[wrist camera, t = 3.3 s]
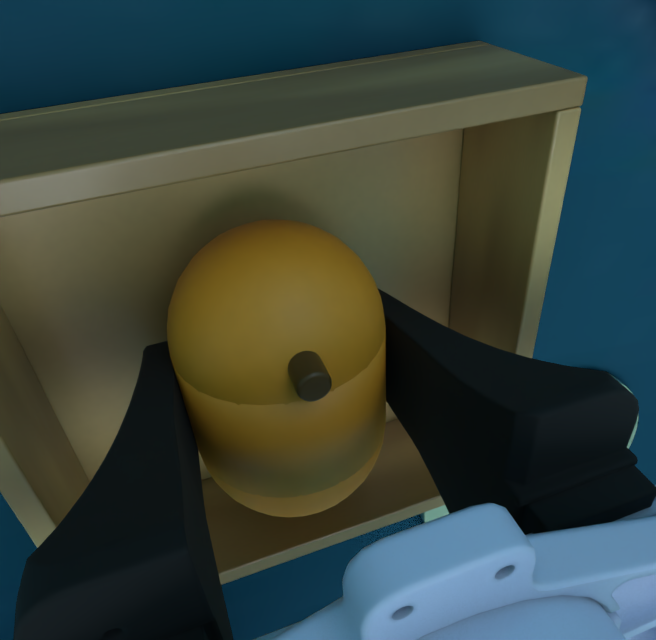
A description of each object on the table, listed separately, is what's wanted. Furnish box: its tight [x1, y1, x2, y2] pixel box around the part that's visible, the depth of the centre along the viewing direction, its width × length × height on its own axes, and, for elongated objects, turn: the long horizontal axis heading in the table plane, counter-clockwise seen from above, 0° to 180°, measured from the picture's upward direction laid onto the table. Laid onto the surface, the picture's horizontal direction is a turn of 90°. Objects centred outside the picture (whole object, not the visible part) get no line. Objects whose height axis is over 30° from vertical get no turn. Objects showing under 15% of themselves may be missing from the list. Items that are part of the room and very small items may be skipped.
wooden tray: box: [0, 41, 587, 585], centre depth 15 cm, size 13×13×4 cm
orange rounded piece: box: [167, 219, 386, 517], centre depth 14 cm, size 8×5×6 cm, turn 4°
